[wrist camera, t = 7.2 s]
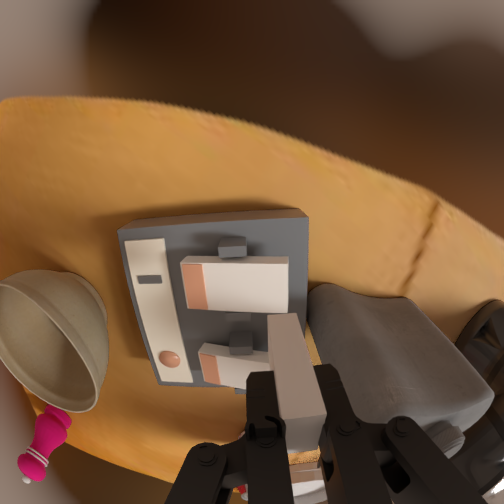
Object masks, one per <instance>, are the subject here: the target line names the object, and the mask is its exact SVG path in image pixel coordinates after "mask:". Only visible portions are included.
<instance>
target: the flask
mask: <svg viewBox="0 0 504 504" xmlns="http://www.w3.org/2000/svg"><path fill="white" fill-rule="evenodd" d="M306 319H307V322H308V324H309V327H310V330H311V333H312V336H313V339H314V342H315V345H316V348H317V351H318V353H319V356H320V359H321V362H322V364H329V363H330V364H331V365H332V366H333V367H334V368H336V369H337V370H338V373H339V375H340V378H341V381H342V383H343V386H344V388H345V391H346V393H347V396H348V399H349V401H350V404H351V406H352V409H353V412H354V413H355V415H356V416H357V417H358V418H359V419H361V420H362V421H364V422H367V423H388V421H389V420H391V419H392V418H393V417H396V416H407V417H410V418H412V419H413V420H414V421H415V422H416V423H417V424H418V425H419V426H420V427H421V428H422V430H423V431H424V432H425V433H426V434H427V435H428V436H429V437H430V438H431V440H432V441H433V442H434V443H435V444H436V445H437V446H438V447H439V449H440V450H441V451H442V452H443V453H444V454H445V455H446V456H447V457H448V459H449V458H451V457H452V456H453V455H454V454H456V453H457V452H458V451H459V450H460V449H461V447H462V446H463V443H464V440H465V436H464V435H463V433H462V432H463V431H465V430H466V429H468V428H469V427H471V426H472V425H473V424H474V423H475V422H477V421H478V420H479V419H480V418H481V417H482V416H483V415H484V414H485V412H486V411H487V410H488V408H489V407H490V405H491V403H492V401H493V399H494V392H493V390H492V389H491V388H490V387H489V385H488V384H487V383H486V382H485V380H484V379H483V378H482V377H481V375H480V374H479V373H478V372H477V371H476V369H475V368H474V367H473V366H472V365H471V364H470V362H469V361H468V360H467V359H466V358H465V357H464V356H463V354H462V353H461V352H460V351H459V350H458V349H457V348H456V347H455V345H454V344H453V343H452V342H451V341H450V340H449V339H448V338H447V337H446V336H445V334H444V333H443V332H442V331H441V330H440V329H439V328H438V327H437V326H436V325H435V324H434V323H433V322H432V321H431V320H430V319H429V318H428V317H427V316H426V315H425V314H424V313H423V311H422V310H421V309H420V308H419V307H418V306H417V305H416V304H415V303H414V302H413V301H412V300H410V299H408V298H406V297H405V298H389V299H387V298H375V297H368V296H364V295H360V294H357V293H354V292H351V291H349V290H346V289H344V288H342V287H340V286H337V285H335V284H322V285H320V286H317V287H315V288H314V289H313V290H312V291H311V292H309V293H308V295H307V307H306Z"/></svg>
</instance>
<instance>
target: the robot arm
mask: <svg viewBox="0 0 504 504" xmlns="http://www.w3.org/2000/svg"><path fill="white" fill-rule="evenodd" d="M267 323H268V356H269V365H270V371H257V372H250V374H249V376H248V378H247V379H246V407H247V422H246V425H245V433H244V435H243V436H242V437H241V438H240V439H238V440H237V441H234V442H232V443H229V444H225V445H221V446H219V445H217V444H214V443H208V442H204V443H200V444H197V445H195V446H194V447H192V448H191V450H190V451H189V452H188V454H187V456H186V458H185V461H184V463H183V465H182V467H181V469H180V471H179V474H178V476H177V478H176V480H175V482H174V484H173V486H172V489H171V491H170V493H169V495H168V497H167V499H166V501H165V504H228V503H229V500H230V497H231V494H232V491H233V488H235V487H238V486H242V485H245V484H247V485H248V504H294V497H293V489H292V482H291V475H290V467H289V460H288V454H289V453H297V452H305V451H312V450H317V449H318V445H319V448H320V452H321V454H320V457H319V460H318V463H317V468H320V466H321V471H322V476H323V480H324V485H325V490H326V495H327V500H328V504H392V501H393V502H394V503H395V504H504V302H503V301H501V300H495V301H492V302H490V303H489V304H487V305H486V306H484V307H483V308H482V309H481V310H480V311H479V312H478V313H477V314H476V315H475V316H474V317H473V318H472V319H471V321H470V322H469V323H468V324H467V326H466V327H465V329H464V330H463V332H462V333H461V335H460V336H459V338H458V340H457V342H456V344H455V347H456V348H457V349H458V350H459V351H460V352H461V353H462V354H463V356H464V357H465V358H466V359H467V360H468V361H469V362H470V364H471V365H472V366H473V367H474V368H475V369H476V371H477V372H478V373H479V374H480V375H481V377H482V378H483V379H484V380H485V382H486V383H487V384H488V385H489V387H490V388H491V389H492V390H493V392H494V399H493V401H492V403H491V405H490V407H489V408H488V410H487V411H486V412H485V414H484V415H483V416H482V417H481V418H480V419H479V420H478V421H477V422H475V423H474V424H473V425H472V426H471V427H469V428H468V429H466V430H465V431H463V432H462V433H463V435H464V436H465V440H464V443H463V446H462V447H461V449H460V450H459V451H458V452H457V453H456V454H454V455H453V456H452V457H451V458H449V459H448V457H447V456H446V455H445V454H444V453H443V452H442V451H441V450H440V449H439V447H438V446H437V445H436V444H435V443H434V442H433V441H432V440H431V438H430V437H429V436H428V435H427V434H426V433H425V432H424V431H423V430H422V428H421V427H420V426H419V425H418V424H417V423H416V422H415V421H414V420H413V419H412V418H410V417H407V416H396V417H393V418H392V419H391V420H389V421H388V423H367V422H364V421H362V420H361V419H359V418H358V417H357V416H356V415H355V413H354V412H353V409H352V406H351V404H350V401H349V399H348V396H347V393H346V391H345V388H344V386H343V383H342V381H341V378H340V375H339V373H338V370H337V369H336V368H334V367H333V366H332V365H331V364H330V363H329V364H322V365H315V366H313V365H312V362H311V358H310V355H309V352H308V349H307V345H306V342H305V339H304V336H303V333H302V329H301V326H300V323H299V320H298V317H297V314H296V313H288V314H274V315H267ZM391 499H392V501H391Z"/></svg>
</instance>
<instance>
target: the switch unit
mask: <svg viewBox="0 0 504 504" xmlns="http://www.w3.org/2000/svg"><path fill="white" fill-rule="evenodd" d="M117 233H118V239H119V245H120V250H121V255H122V260H123V265H124V269H125V274H126V278H127V283H128V287H129V291H130V295H131V299H132V303H133V307H134V310H135V314H136V317H137V321H138V324H139V328H140V331H141V334H142V338H143V341H144V344H145V347H146V350H147V353H148V356H149V359H150V362H151V365H152V368H153V370H154V373H155V376H156V379H157V381H158V384H159V385H168V386H187V387H230V386H225V385H217V384H213V383H208V382H205V381H204V377H203V373H202V368H201V364H200V359H199V355H198V351H199V349H200V348H201V347H202V345H203V344H204V343H210V344H216V345H222V346H228V347H229V351H230V354H251V353H253V350H255V351H263V352H268V323H267V315H274V314H288V313H296V314H297V317H298V320H299V323H300V326H301V329H302V333H303V336H304V339H305V326H306V307H307V283H308V240H309V217H308V216H307V215H306V214H305V213H304V212H302V211H301V210H300V209H275V210H254V211H236V212H220V213H205V214H192V215H180V216H168V217H157V218H146V219H136V220H133V221H131V222H129V223H128V224H126V225H124V226H123V227H121V228H119V229H118V230H117ZM186 256H219V258H225V257H244V256H288V312H287V313H260V312H236V311H218V310H202V309H188V308H187V303H186V297H185V291H184V285H183V279H182V273H181V266H180V262H181V261H182V260H183V259H184V258H185V257H186ZM235 394H246V389H240V388H235Z"/></svg>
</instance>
